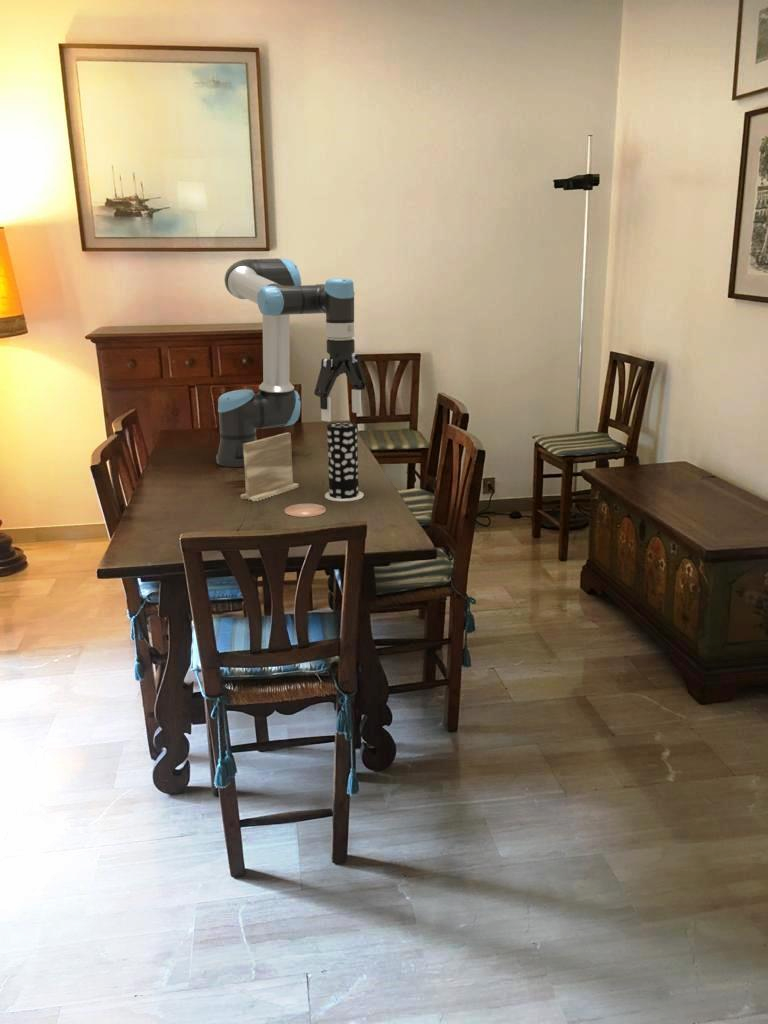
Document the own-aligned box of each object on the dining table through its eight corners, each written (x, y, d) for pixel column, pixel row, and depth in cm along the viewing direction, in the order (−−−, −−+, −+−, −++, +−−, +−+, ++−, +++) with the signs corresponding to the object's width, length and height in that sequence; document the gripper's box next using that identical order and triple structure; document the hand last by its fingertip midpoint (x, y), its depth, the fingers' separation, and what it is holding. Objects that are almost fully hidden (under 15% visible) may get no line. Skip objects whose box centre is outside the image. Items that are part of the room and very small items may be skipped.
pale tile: (316, 497, 230) (316, 496, 229) (340, 488, 238) (340, 487, 238) (347, 503, 224) (347, 502, 223) (371, 494, 232) (371, 493, 232)
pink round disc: (276, 512, 216) (276, 511, 216) (303, 502, 225) (303, 501, 225) (307, 519, 210) (307, 518, 210) (334, 509, 219) (334, 507, 219)
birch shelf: (240, 498, 230) (237, 442, 225) (283, 484, 244) (281, 431, 239) (256, 501, 226) (253, 445, 221) (298, 487, 240) (296, 433, 235)
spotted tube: (362, 491, 233) (361, 423, 227) (352, 499, 226) (350, 428, 220) (335, 489, 236) (333, 421, 230) (324, 497, 228) (322, 427, 222)
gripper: (321, 343, 206) (323, 426, 213) (378, 335, 225) (379, 410, 232) (299, 341, 210) (301, 422, 217) (357, 333, 229) (358, 408, 236)
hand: (341, 416), depth 224 cm, fingers open, 13 cm apart
